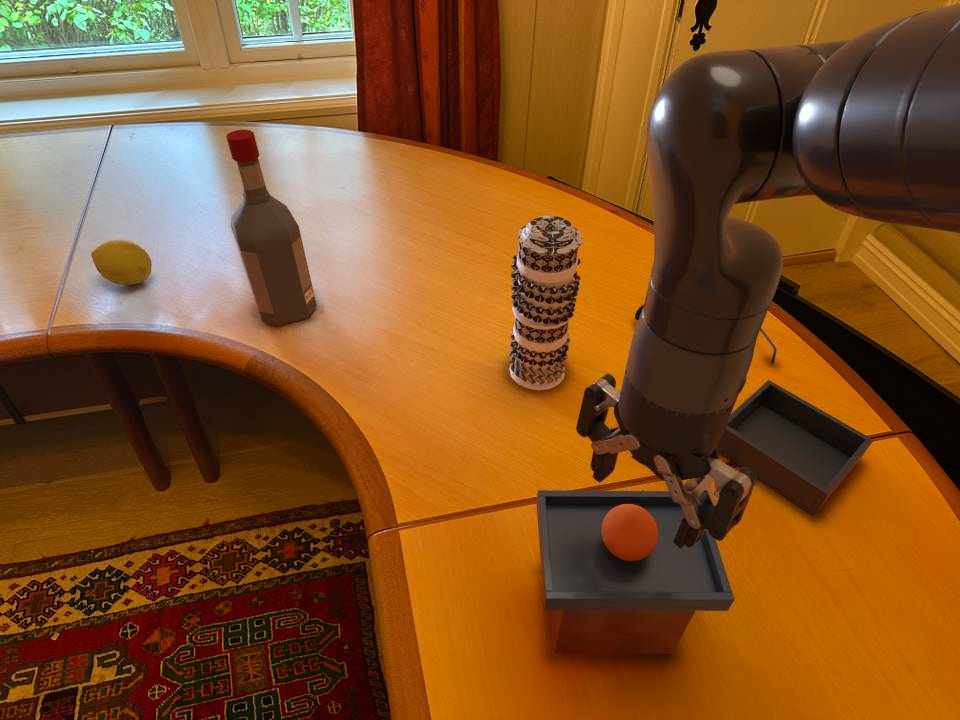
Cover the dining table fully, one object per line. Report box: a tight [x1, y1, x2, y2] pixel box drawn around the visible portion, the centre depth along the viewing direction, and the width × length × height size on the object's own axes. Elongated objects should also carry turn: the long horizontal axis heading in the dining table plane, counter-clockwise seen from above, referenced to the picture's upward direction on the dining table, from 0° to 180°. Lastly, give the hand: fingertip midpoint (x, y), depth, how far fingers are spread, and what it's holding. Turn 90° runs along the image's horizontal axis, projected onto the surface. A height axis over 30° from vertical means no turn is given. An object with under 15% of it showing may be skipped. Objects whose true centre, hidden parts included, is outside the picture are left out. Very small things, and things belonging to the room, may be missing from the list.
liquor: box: [226, 129, 317, 327], centre depth 93 cm, size 9×9×30 cm
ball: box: [601, 504, 658, 561], centre depth 55 cm, size 5×5×5 cm
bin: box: [718, 379, 874, 517], centre depth 79 cm, size 14×12×5 cm
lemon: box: [90, 238, 153, 286], centre depth 106 cm, size 11×8×8 cm
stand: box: [550, 610, 696, 655], centre depth 61 cm, size 12×9×12 cm
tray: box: [535, 489, 735, 612], centre depth 56 cm, size 16×11×2 cm
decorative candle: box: [508, 215, 584, 391], centre depth 83 cm, size 9×9×25 cm
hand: (641, 506), depth 52 cm, fingers open, 8 cm apart
